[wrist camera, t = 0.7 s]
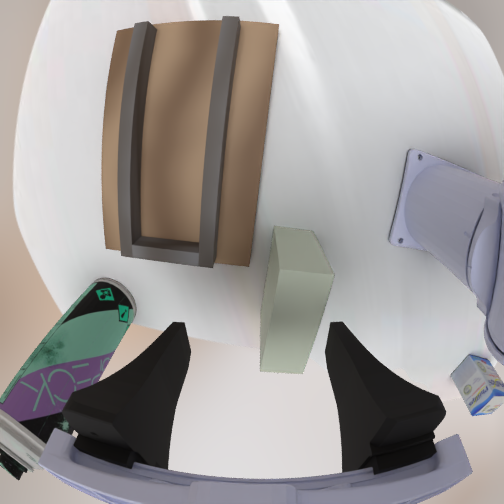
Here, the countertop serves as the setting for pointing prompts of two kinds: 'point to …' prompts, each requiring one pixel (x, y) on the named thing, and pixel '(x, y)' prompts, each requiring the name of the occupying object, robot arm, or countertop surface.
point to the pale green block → (293, 300)
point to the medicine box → (479, 385)
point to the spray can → (61, 372)
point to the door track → (186, 139)
